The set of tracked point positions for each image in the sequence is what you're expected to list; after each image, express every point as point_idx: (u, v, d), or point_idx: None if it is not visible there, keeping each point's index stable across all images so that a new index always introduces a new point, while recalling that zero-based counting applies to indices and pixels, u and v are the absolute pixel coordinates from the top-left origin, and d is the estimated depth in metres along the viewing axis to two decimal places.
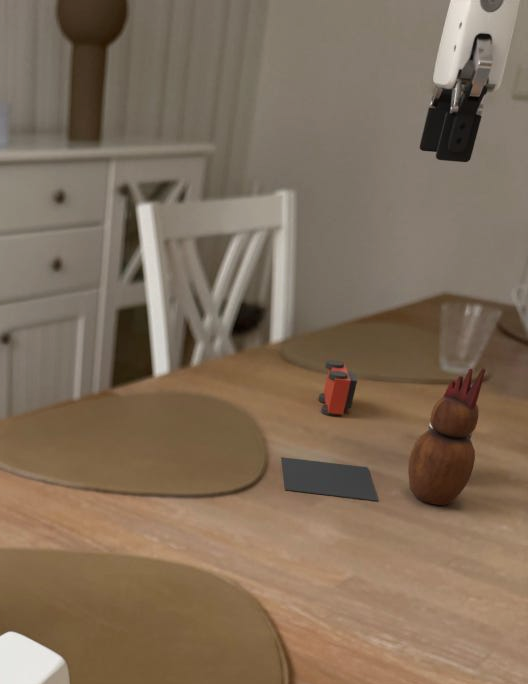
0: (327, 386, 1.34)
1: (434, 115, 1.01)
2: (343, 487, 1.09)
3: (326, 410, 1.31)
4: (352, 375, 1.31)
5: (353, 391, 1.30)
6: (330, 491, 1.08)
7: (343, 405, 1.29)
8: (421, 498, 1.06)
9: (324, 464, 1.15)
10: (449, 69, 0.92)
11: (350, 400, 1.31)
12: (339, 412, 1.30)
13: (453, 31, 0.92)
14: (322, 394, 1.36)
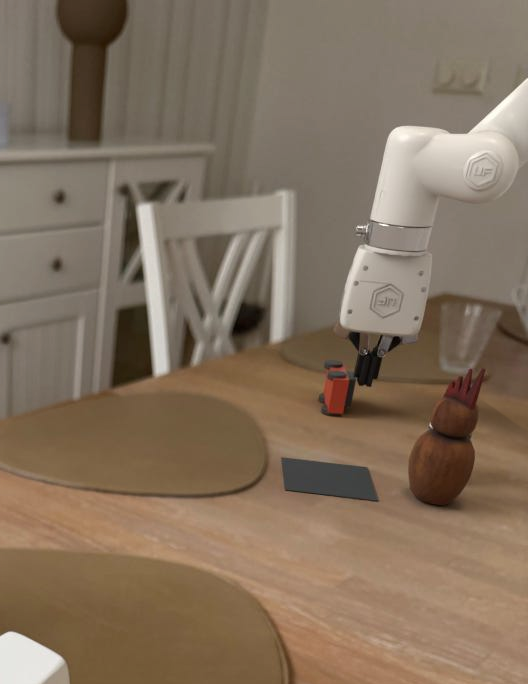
0: (326, 386, 1.34)
1: None
2: (343, 487, 1.09)
3: (326, 410, 1.31)
4: (351, 374, 1.31)
5: (352, 390, 1.30)
6: (330, 491, 1.08)
7: (342, 405, 1.29)
8: (421, 498, 1.06)
9: (324, 464, 1.15)
10: None
11: (350, 399, 1.31)
12: (339, 412, 1.30)
13: None
14: (322, 394, 1.36)
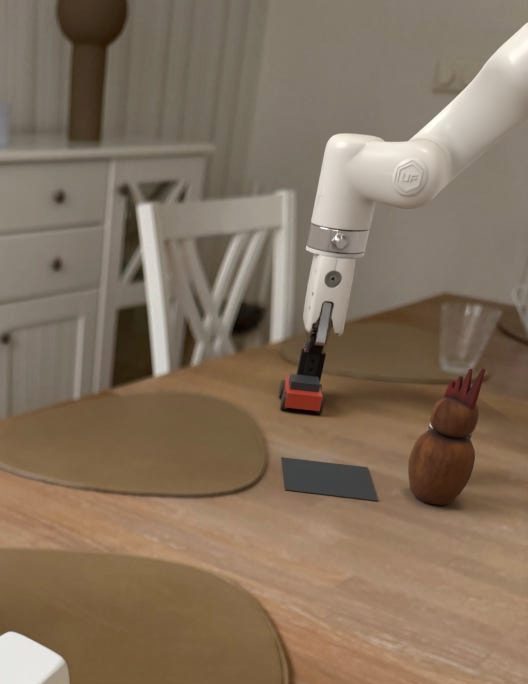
0: None
1: None
2: (343, 487, 1.09)
3: (317, 411, 1.30)
4: (290, 379, 1.32)
5: (302, 383, 1.30)
6: (330, 491, 1.08)
7: (313, 397, 1.29)
8: (421, 498, 1.06)
9: (324, 464, 1.15)
10: (307, 321, 1.29)
11: (311, 385, 1.30)
12: (320, 400, 1.29)
13: (309, 295, 1.29)
14: None
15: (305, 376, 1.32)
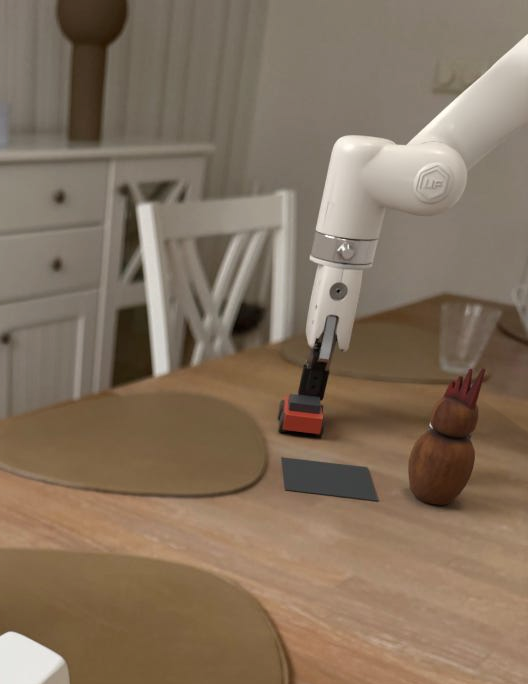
0: None
1: None
2: (343, 487, 1.09)
3: (317, 434, 1.22)
4: (289, 399, 1.24)
5: (301, 404, 1.22)
6: (330, 491, 1.08)
7: (312, 419, 1.21)
8: (421, 498, 1.06)
9: (324, 464, 1.15)
10: (310, 335, 1.21)
11: (311, 406, 1.22)
12: (320, 422, 1.21)
13: (313, 308, 1.20)
14: None
15: (305, 396, 1.24)
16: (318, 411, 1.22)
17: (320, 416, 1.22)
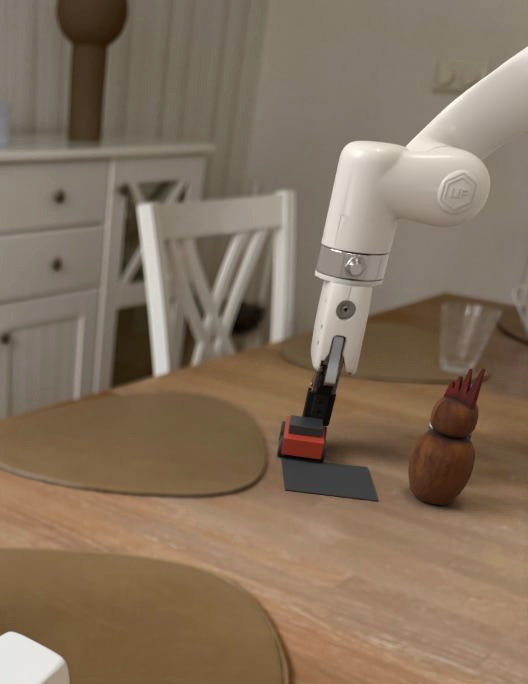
0: None
1: None
2: (343, 487, 1.09)
3: (318, 459, 1.15)
4: None
5: (302, 427, 1.15)
6: (330, 491, 1.08)
7: (313, 443, 1.14)
8: (421, 498, 1.06)
9: (324, 464, 1.15)
10: (315, 357, 1.12)
11: (312, 430, 1.15)
12: (321, 447, 1.14)
13: (318, 327, 1.11)
14: None
15: (307, 418, 1.17)
16: (319, 435, 1.15)
17: (321, 440, 1.14)
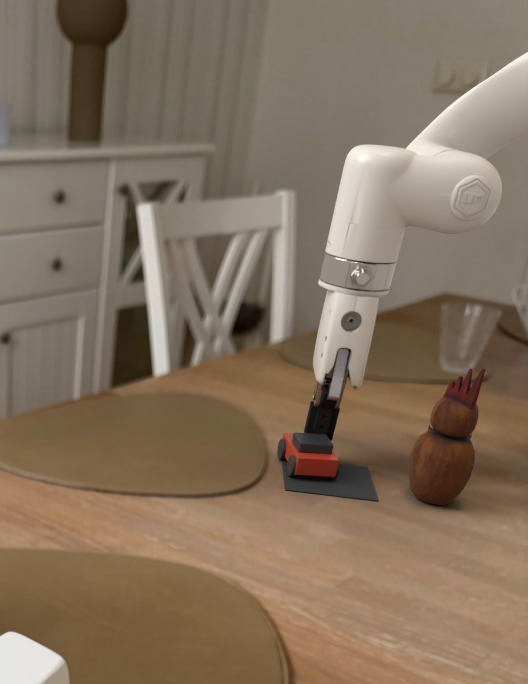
0: None
1: None
2: (343, 487, 1.09)
3: (332, 477, 1.10)
4: (295, 439, 1.12)
5: (313, 445, 1.09)
6: (330, 491, 1.08)
7: (328, 461, 1.09)
8: (421, 498, 1.06)
9: None
10: (318, 370, 1.07)
11: (324, 447, 1.10)
12: (336, 464, 1.09)
13: (321, 339, 1.06)
14: None
15: (311, 435, 1.12)
16: (331, 451, 1.10)
17: (334, 457, 1.09)
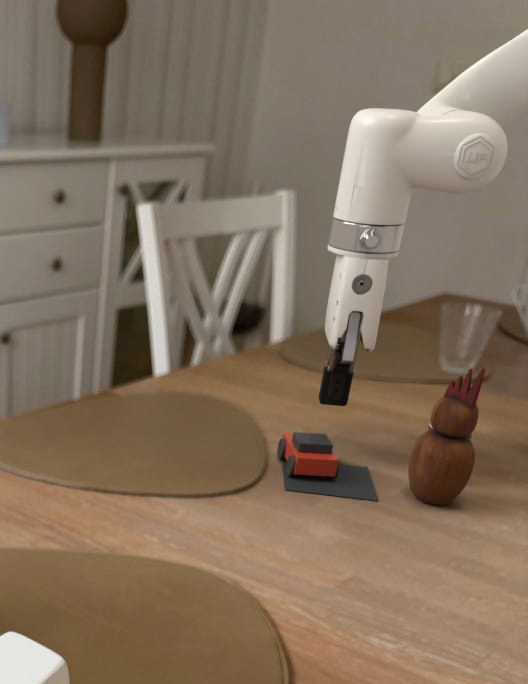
0: None
1: None
2: (343, 487, 1.09)
3: (331, 477, 1.10)
4: (295, 439, 1.12)
5: (312, 445, 1.10)
6: (330, 491, 1.08)
7: (327, 461, 1.09)
8: (421, 498, 1.06)
9: None
10: (331, 334, 1.08)
11: (323, 446, 1.10)
12: (335, 464, 1.09)
13: (333, 304, 1.08)
14: None
15: (311, 434, 1.12)
16: (330, 451, 1.10)
17: (334, 457, 1.09)
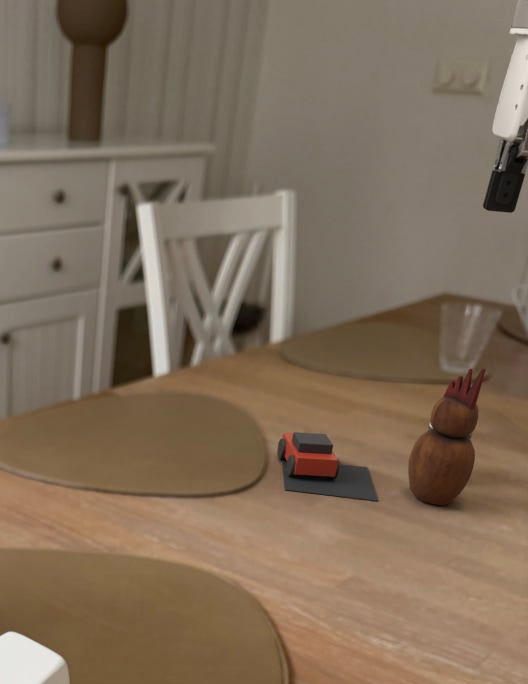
0: None
1: None
2: (343, 487, 1.09)
3: (331, 477, 1.10)
4: (295, 439, 1.12)
5: (312, 445, 1.10)
6: (330, 491, 1.08)
7: (327, 461, 1.09)
8: (421, 498, 1.06)
9: None
10: (510, 125, 1.04)
11: (323, 446, 1.10)
12: (335, 464, 1.09)
13: (514, 91, 1.03)
14: None
15: (311, 434, 1.12)
16: (330, 451, 1.10)
17: (334, 457, 1.09)
